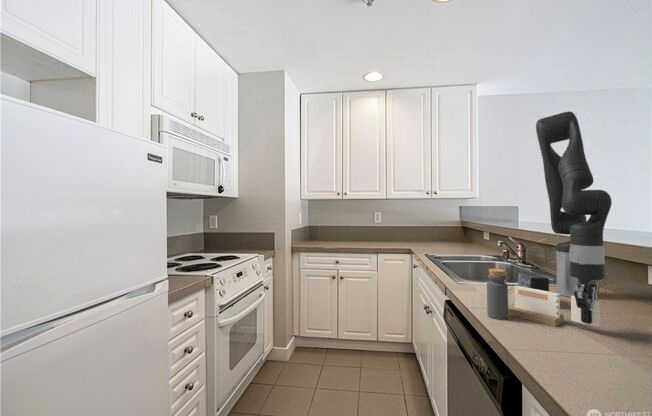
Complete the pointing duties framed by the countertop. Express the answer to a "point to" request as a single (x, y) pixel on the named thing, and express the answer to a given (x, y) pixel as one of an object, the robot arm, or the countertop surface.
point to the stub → (577, 312)
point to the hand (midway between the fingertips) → (587, 322)
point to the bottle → (497, 295)
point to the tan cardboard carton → (536, 306)
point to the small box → (533, 281)
